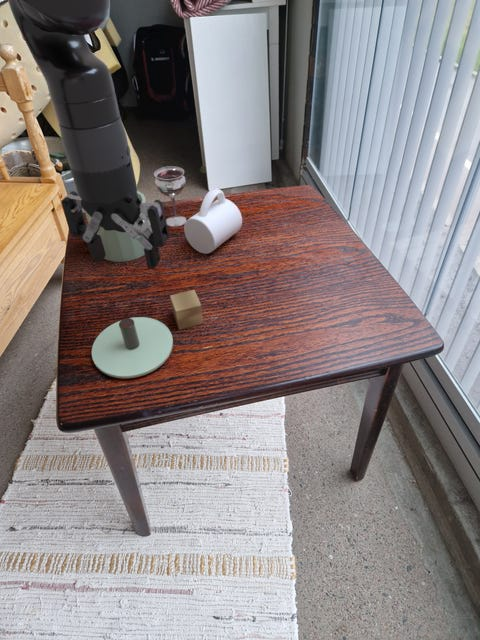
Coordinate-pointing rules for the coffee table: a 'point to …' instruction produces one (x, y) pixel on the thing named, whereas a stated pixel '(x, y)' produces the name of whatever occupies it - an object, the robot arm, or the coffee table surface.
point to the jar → (121, 241)
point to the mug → (213, 223)
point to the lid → (132, 347)
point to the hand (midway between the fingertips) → (126, 262)
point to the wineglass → (171, 188)
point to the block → (186, 309)
